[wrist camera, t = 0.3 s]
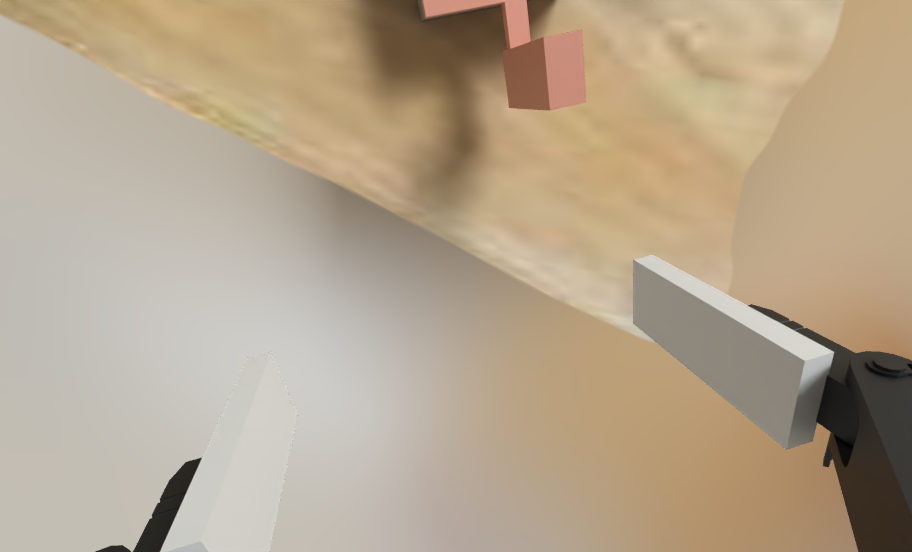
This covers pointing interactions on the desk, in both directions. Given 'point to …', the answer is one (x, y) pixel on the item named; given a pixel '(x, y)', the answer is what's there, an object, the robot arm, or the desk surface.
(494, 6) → the tub
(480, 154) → the desk surface
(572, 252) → the desk surface
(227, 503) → the robot arm
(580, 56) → the lid
